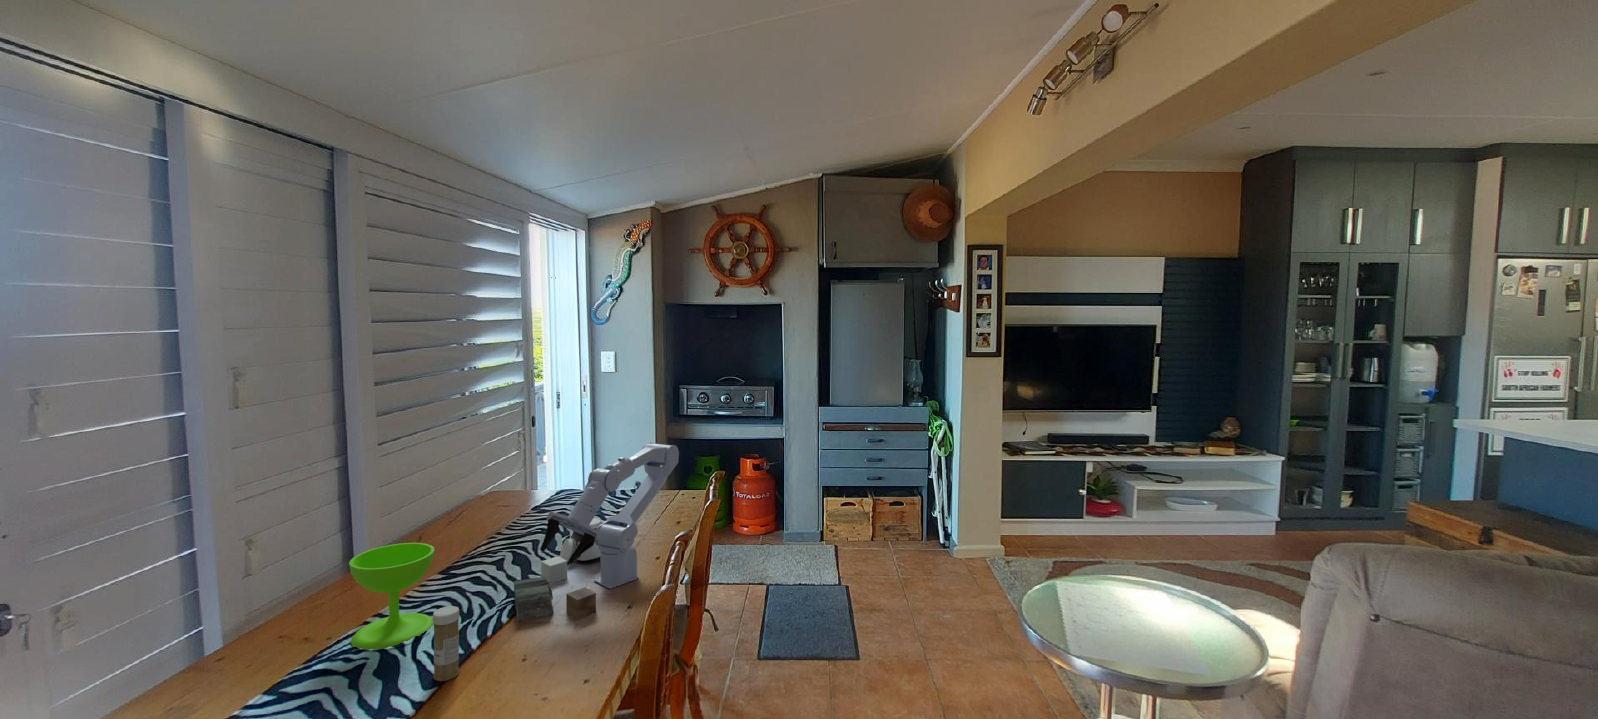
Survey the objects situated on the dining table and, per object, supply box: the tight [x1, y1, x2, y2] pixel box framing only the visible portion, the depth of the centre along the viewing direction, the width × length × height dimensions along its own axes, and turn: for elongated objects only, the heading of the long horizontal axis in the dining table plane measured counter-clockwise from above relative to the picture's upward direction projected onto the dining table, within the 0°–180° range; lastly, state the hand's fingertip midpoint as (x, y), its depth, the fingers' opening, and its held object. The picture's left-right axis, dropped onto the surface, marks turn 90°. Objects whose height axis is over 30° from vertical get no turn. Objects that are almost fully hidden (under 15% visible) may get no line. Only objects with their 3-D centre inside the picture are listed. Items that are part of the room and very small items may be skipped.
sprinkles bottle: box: [432, 605, 460, 682], centre depth 119 cm, size 5×5×13 cm
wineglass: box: [348, 542, 435, 650], centre depth 135 cm, size 16×16×18 cm
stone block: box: [513, 576, 555, 622], centre depth 150 cm, size 9×14×5 cm, turn 28°
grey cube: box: [540, 556, 568, 585], centre depth 167 cm, size 5×5×5 cm
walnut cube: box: [565, 587, 597, 621], centre depth 147 cm, size 5×5×5 cm
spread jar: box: [559, 517, 602, 565], centre depth 180 cm, size 12×11×12 cm
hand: (556, 556), depth 146 cm, fingers open, 7 cm apart
